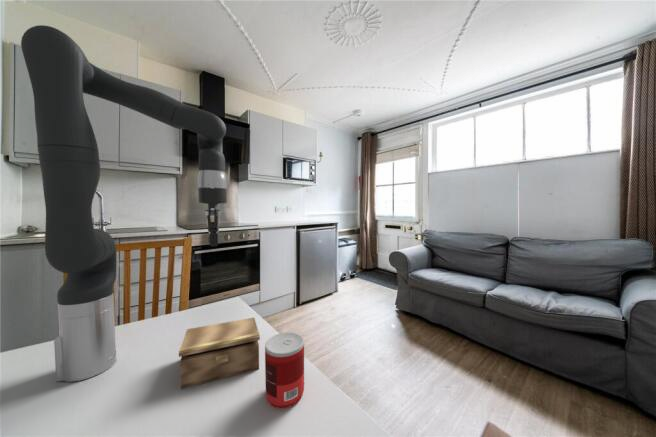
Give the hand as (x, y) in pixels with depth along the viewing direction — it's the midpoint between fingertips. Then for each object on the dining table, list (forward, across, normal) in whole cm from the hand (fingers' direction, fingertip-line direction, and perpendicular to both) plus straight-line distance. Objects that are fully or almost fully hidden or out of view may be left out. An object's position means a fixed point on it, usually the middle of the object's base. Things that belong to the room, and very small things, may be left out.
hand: (214, 245), depth 71 cm
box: (+27, +15, +2) cm, 31 cm away
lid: (+20, +15, +2) cm, 25 cm away
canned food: (+27, +31, +14) cm, 44 cm away
